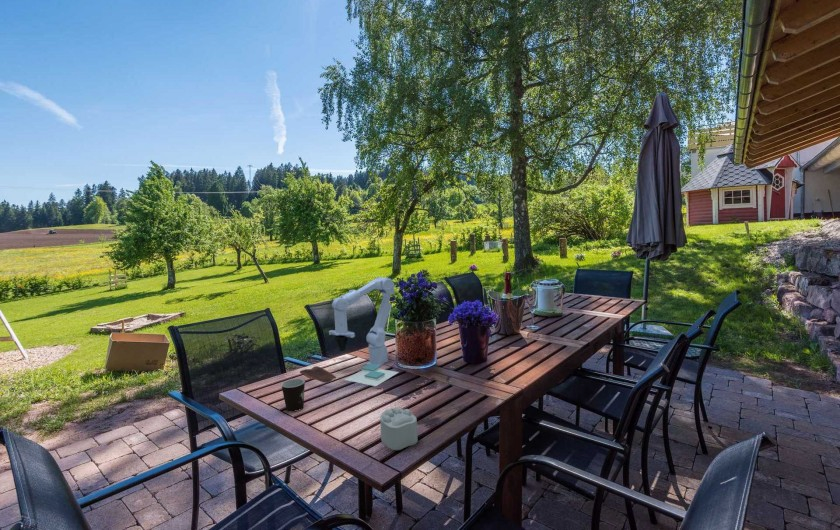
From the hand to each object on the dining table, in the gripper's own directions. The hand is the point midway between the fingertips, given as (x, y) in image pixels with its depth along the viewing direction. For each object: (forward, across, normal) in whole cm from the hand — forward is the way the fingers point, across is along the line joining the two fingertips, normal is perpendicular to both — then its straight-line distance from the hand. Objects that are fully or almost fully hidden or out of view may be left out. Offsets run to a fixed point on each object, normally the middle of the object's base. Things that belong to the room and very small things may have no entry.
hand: (342, 350), depth 187 cm
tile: (+9, +16, -1) cm, 18 cm away
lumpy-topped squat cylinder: (+11, +57, -40) cm, 70 cm away
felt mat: (+10, +17, 0) cm, 20 cm away
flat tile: (+10, +12, +6) cm, 17 cm away
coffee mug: (+11, +9, -37) cm, 39 cm away
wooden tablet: (+11, -6, -9) cm, 16 cm away
